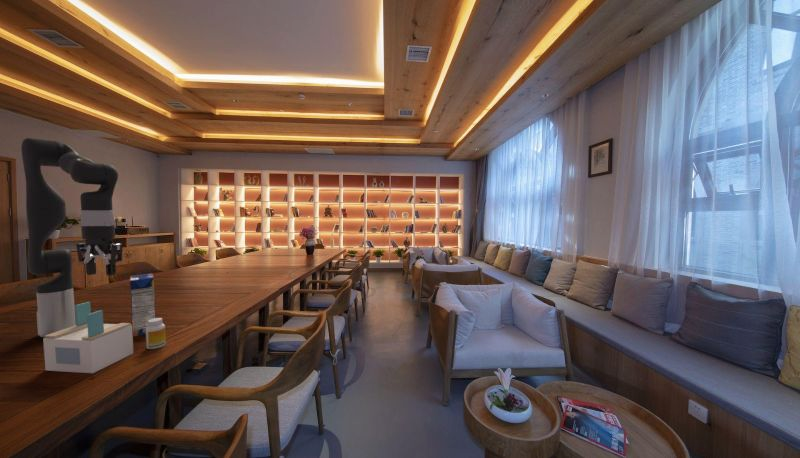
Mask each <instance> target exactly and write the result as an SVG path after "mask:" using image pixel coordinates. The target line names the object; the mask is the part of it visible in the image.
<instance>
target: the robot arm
mask: <svg viewBox="0 0 800 458" xmlns="http://www.w3.org/2000/svg"><path fill="white" fill-rule="evenodd" d="M20 148H21V158H22V165H23V171H24V178H25V194H26V195H25V197H26V198H25V207H26V208H25V210H26V222H27V229H28V231H27V232H28V241H27V242H28V245H27V269H28V272H29V273H30V274H31V275H32V276H43V275H50V274H58V275H56V277H54V278H52V279H50V280H48V281H45V282H41V283H39V284H37V285H36V287H35V288H36V289H35V291H36V303H37V304H36V305H37V311H36V326H37V335H38V336H39V337H40V338H45V335H48V334H51V333H54V332H57V331H60V330H63V329H66V328H69V327H72V326H75V325H76V311H75V297H74V296H75V294H74V284H73V255H72V252H71V250H69V249H67V248H60V249H59V248H58V249H47V250H46V249H45V250H44V249H43V247H44V245H45V243H46V242H47V240H48V239H49V238H50V237H51V235H53V233H54V232H56V230H57V229H59V228H60V227H61V226H62V224H64V222H65V220H66V219H67V213H66V211H67V210H66V209H67V204H66V201H65V199H64V198H63V196H62V195H61V194H60V193H59V192H58V191H57V190H56V189H55V188H54V187H52V185H51V184H50V183H49V182H48V181H47V179H45V176H44V174H43V172H42V170H41V169H42V168H41V166H42V167H55V168H56V167H57V168H60V169H61V170H62V171H64V172H65V173H67V174H69V175H70V177H71V179H72V180H73V182H75V183H78V184H82V185H83V184H84V185H94V186H95V185H96V186H97V185H99V188H98V189H97V190H94V191H84V192H82V193H81V194H80V198H79V199H80V212H81V213H80V227H81V228H80V229H81V231H80V232H81V239H82V240H85V242H81V243H76V252H77V258H78V262H79V263H81V262H82V263H83V264H85V272H86V273H85V274H86V275H88V276H93V275H96V274H97V264H96V261H97V259H98V258H99V257H100V258H101V259H103V260H104V262H105V271H106V272H105V275H106V276H107V277H108V276H114V275H116V273H117V267H116V264H117V263H119V262H122V260H123V244H122V243H114V240H113V239H115V238H116V228H115V225H116V224H115V216H114V212H113V209H114V208H113V195H114V192H115V188H116V185H117V182H118V179H119V172H118V170H117V169H116V167H115V166H114V165H112V164H109V163H101V162H94V161H92V160H91V159H89V158H87V157H85V156H83V155H80V154H79V153H77V152H76V150H75V149H73V148H72V147H71V146H69V145H68V144H66V143H65V142H62V141H59V140H58V141H57V140H48V139H41V138H40V139H39V138H30V137H27V138H25V139H23V140H22V142H21V147H20Z"/></svg>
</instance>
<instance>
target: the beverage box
mask: <svg viewBox="0 0 800 458" xmlns="http://www.w3.org/2000/svg"><path fill="white" fill-rule="evenodd" d="M129 277H130V278H129V286H130V288H129V289H130V303H131V304H130V305H131V306H130V307H131V319H132V320H131V321H132V324H131V325H132V334H133V337H138V336H142V335H146V328H147V327H148V326H149V325H148V320H150V319H154V318H157V315H156V301H155V298H156V296H155V280H154V279H155V278H154V274H153V273H146V274H145V273H144V274H136V275H135V274H134V275H130V276H129Z"/></svg>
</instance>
